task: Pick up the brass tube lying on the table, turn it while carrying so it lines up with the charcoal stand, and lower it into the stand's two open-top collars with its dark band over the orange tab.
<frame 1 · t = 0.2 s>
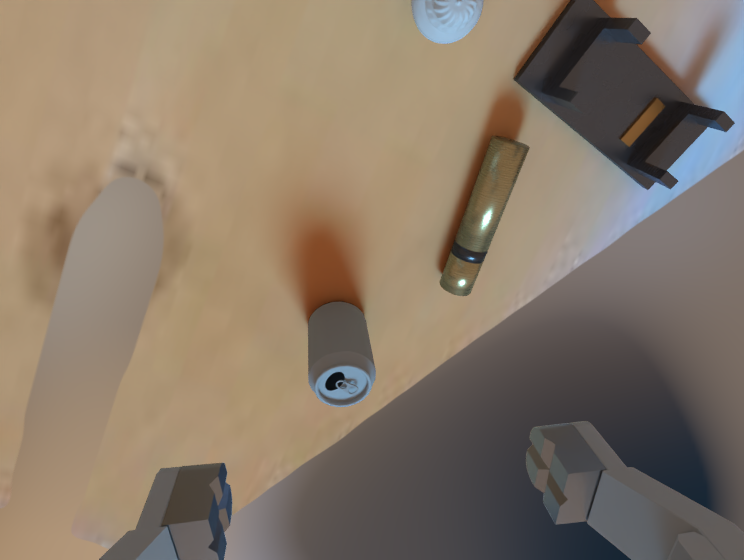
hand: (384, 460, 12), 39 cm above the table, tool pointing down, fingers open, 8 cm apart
tube: (474, 213, 51), on the table
stand: (614, 101, 46), on the table
can: (336, 320, 57), on the table
light grey rounded piece: (436, 3, 40), on the table
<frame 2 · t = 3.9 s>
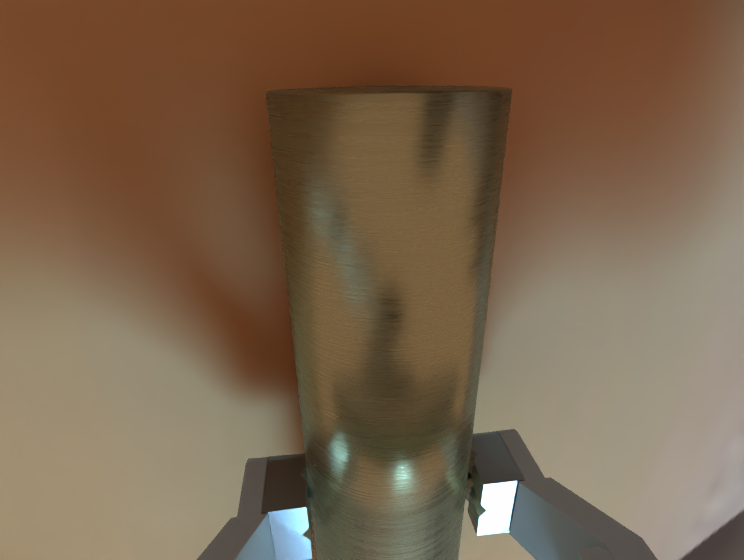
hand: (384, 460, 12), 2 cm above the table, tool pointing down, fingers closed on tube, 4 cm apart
tube: (375, 417, 13), on the table, touching gripper
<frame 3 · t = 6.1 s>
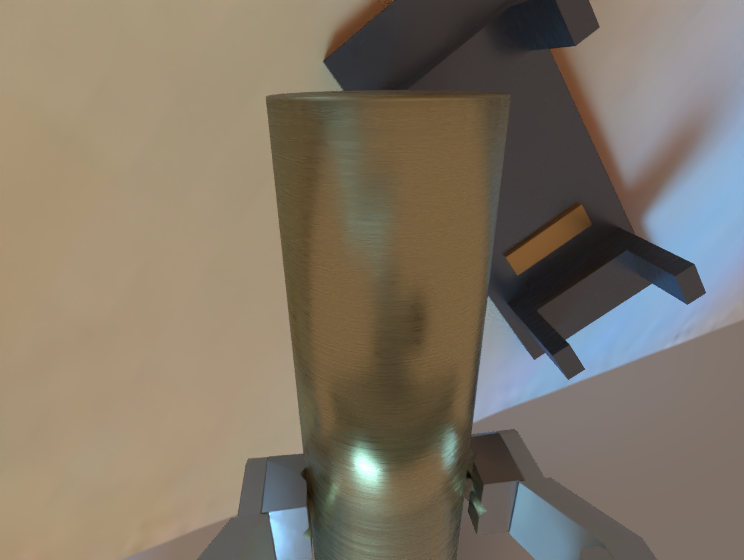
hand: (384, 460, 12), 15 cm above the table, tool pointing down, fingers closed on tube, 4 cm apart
tube: (374, 419, 13), point 13 cm above the table, touching gripper
stand: (509, 184, 25), on the table
when the fingers open (7 cm above the table, at t = 8.3 s): tube drops 2 cm, resting on stand.
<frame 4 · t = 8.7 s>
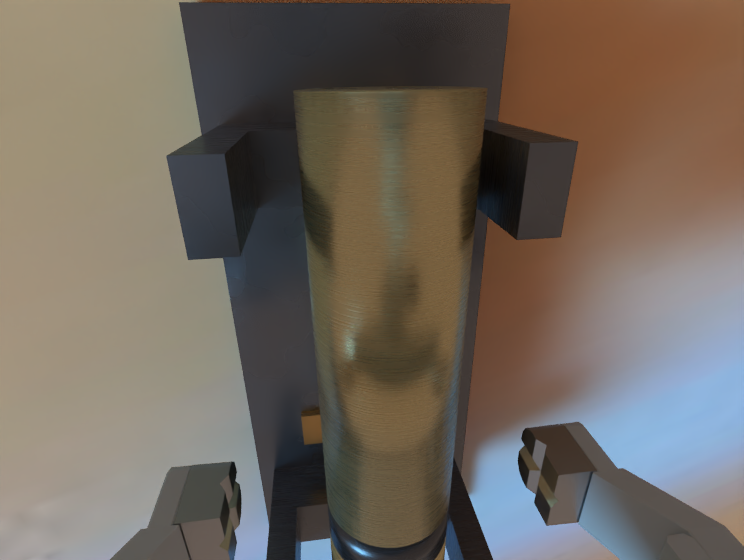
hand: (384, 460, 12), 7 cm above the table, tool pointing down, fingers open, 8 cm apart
tube: (366, 378, 15), point 3 cm above the table, tilted 12°, touching stand
stand: (358, 329, 17), on the table
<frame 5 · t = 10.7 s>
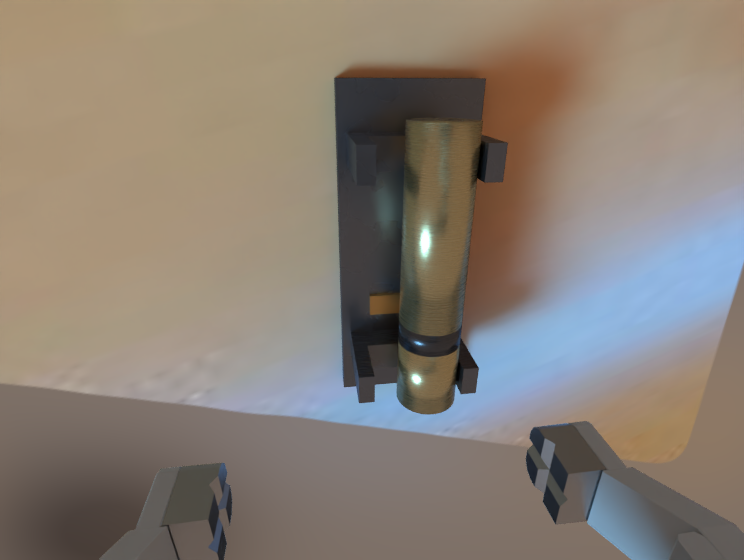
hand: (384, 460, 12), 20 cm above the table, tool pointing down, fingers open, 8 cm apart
tube: (412, 266, 28), point 3 cm above the table, tilted 27°, touching stand
stand: (402, 248, 31), on the table
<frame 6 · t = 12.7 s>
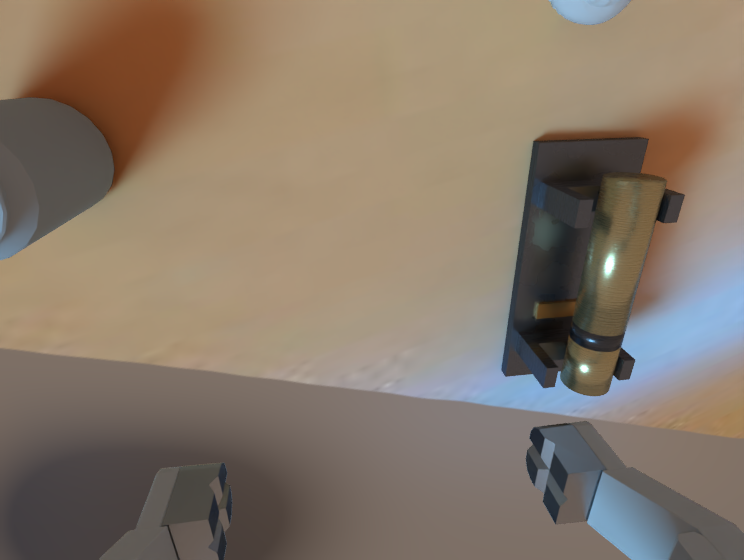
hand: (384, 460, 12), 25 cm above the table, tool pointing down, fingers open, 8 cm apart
tube: (583, 282, 36), point 3 cm above the table, tilted 27°, touching stand
stand: (563, 266, 39), on the table
can: (61, 154, 30), on the table
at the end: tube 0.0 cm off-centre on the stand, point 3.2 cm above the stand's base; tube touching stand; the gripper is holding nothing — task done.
